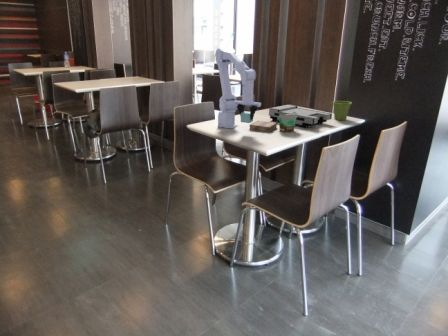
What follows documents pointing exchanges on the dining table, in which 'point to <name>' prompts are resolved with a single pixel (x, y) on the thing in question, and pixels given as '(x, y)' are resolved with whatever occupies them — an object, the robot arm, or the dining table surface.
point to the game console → (300, 115)
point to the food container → (287, 122)
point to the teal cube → (245, 117)
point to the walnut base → (263, 126)
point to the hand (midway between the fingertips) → (246, 118)
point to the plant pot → (341, 109)
